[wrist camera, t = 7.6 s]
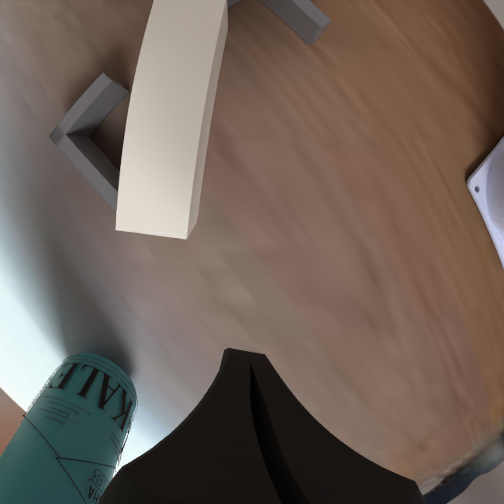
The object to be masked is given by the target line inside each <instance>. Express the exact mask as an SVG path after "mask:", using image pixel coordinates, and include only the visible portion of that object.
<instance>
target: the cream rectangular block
mask: <svg viewBox="0 0 504 504" xmlns="http://www.w3.org/2000/svg"><path fill="white" fill-rule="evenodd" d="M227 32H228V14H227V0H154V2H153V5H152V9H151V12H150V16H149V19H148V23H147V27H146V31H145V34H144V38H143V42H142V46H141V51H140V55H139V59H138V64H137V68H136V73H135V78H134V83H133V88H132V93H131V99H130V104H129V110H128V116H127V122H126V129H125V136H124V143H123V151H122V159H121V168H120V178H119V188H118V200H117V214H116V230H120V231H128V232H135V233H143V234H151V235H158V236H166V237H174V238H181V239H187V238H188V236H189V234H190V233H191V231H192V229H193V228H194V226H195V225H196V223H197V218H198V210H199V202H200V194H201V187H202V179H203V172H204V165H205V158H206V151H207V144H208V138H209V131H210V125H211V119H212V113H213V107H214V101H215V95H216V89H217V84H218V78H219V73H220V67H221V62H222V57H223V52H224V46H225V41H226V37H227Z"/></svg>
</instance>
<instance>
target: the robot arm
mask: <svg viewBox="0 0 504 504" xmlns="http://www.w3.org/2000/svg"><path fill="white" fill-rule="evenodd" d="M467 186H468V188H469V190H470V192H471V194H472V196H473V198H474V200H475V202H476V204H477V207H478V209H479V211H480V213H481V215H482V217H483V219H484V222H485V224H486V226H487V228H488V231H489V233H490V235H491V238H492V240H493V243H494V245H495V248H496V250H497V253H498V255H499V258H500V260H501V263H502V266H503V269H504V137H503V138H502V139H501V140H500V142H499V143H498V144H497V145H496V146H495V148H494V149H493V150H492V151H491V152H490V154H489V155H488V156H487V157H486V158H485V160H484V161H483V162H482V163H481V164H480V165H479V166H478V168H477V169H476V170H475V171H474V172H473V173H472V174H471V176H470V177H469V178H468V180H467ZM475 187H476V191H475ZM98 504H426V502H425V500H424V498H423V496H422V494H421V492H420V490H419V488H418V486H417V484H416V482H415V481H413V480H410V479H408V478H406V477H403V476H401V475H399V474H396V473H394V472H392V471H389V470H387V469H385V468H383V467H381V466H379V465H377V464H376V463H374V462H372V461H370V460H368V459H367V458H365V457H363V456H362V455H360V454H359V453H357V452H355V451H354V450H353V449H351V448H350V447H348V446H347V445H346V444H344V443H343V442H341V441H340V440H339V439H337V438H336V437H335V436H334V435H333V434H331V433H330V432H329V431H328V430H327V429H326V428H325V427H323V426H322V425H321V424H320V423H319V422H318V421H317V420H316V419H315V418H314V417H313V416H312V415H311V414H310V413H309V412H308V411H307V410H306V409H305V408H304V406H303V405H302V404H301V403H300V402H299V401H298V400H297V398H296V397H295V396H294V395H293V393H292V392H291V391H290V390H289V388H288V387H287V386H286V384H285V383H284V382H283V380H282V379H281V377H280V376H279V374H278V373H277V372H276V370H275V369H274V367H273V366H272V364H271V363H270V361H269V360H268V358H267V357H266V355H265V354H260V353H254V352H248V351H243V350H237V349H232V348H227V349H225V350H224V353H223V357H222V361H221V365H220V369H219V372H218V374H217V376H216V378H215V379H214V381H213V383H212V385H211V386H210V388H209V389H208V391H207V392H206V394H205V395H204V397H203V398H202V400H201V401H200V402H199V403H198V405H197V406H196V407H195V408H194V410H193V411H192V412H191V413H190V414H189V415H188V416H187V418H186V419H185V420H184V421H183V422H182V423H181V424H180V425H179V426H178V427H177V428H176V429H175V430H173V431H172V432H171V433H170V434H169V435H168V436H166V437H165V438H164V439H163V440H161V441H160V442H159V443H158V444H156V445H155V446H154V447H153V448H151V449H150V450H148V451H147V452H146V453H144V454H142V455H141V456H139V457H137V458H136V459H134V460H133V461H131V462H129V463H128V464H126V465H124V466H123V467H121V469H120V470H119V471H118V472H117V474H116V475H115V476H114V478H113V479H112V480H111V482H110V483H109V484H108V486H107V487H106V489H105V490H104V492H103V494H102V496H101V498H100V500H99V502H98Z"/></svg>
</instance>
